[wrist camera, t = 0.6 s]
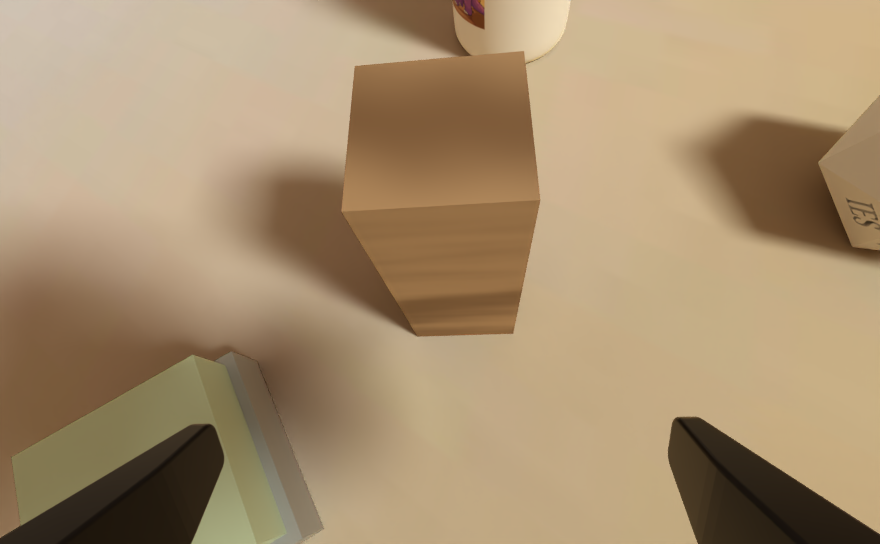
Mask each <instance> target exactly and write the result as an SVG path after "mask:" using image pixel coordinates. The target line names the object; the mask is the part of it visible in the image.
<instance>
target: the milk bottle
mask: <svg viewBox="0 0 880 544" xmlns="http://www.w3.org/2000/svg"><path fill="white" fill-rule="evenodd" d="M452 2H453V14H454V24H455V32H456V35H457V38H458V40H459V42H460V43H461V45H462V46H463V48H464V49H465V50H466V51H467V52H468V53H469V54H470V55H472V56H473V55H484V54H496V53H507V52H518V51H524V55H525V64H526V63H528V62H532V61H535V60H536V59H538V58H541V57H543V56H544V55H545V54H547V53H548V52H549V51H551V50H552V48H553V47H554V46H555V45H556V44H557V43H558V41H559V40H560V38H561V37H562V35H563V33H564V31H565V27H566V23H567V18H568V13H569V8H570V3H571V0H452Z"/></svg>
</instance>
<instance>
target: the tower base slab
mask: <svg viewBox="0 0 880 544" xmlns="http://www.w3.org/2000/svg"><path fill="white" fill-rule="evenodd" d="M214 362H217V363H220V364H223V365H225V366H226V369H227V371H228V374H229V377H230V380H231V382H232V385H233V388H234V390H235V393H236V396H237V399H238V401H239V404H240V407H241V409H242V412H243V415H244V418H245V420H246V423H247V426H248V428H249V431H250V434H251V437H252V439H253V442H254V445H255V447H256V450H257V453H258V456H259V458H260V461H261V464H262V467H263V469H264V472H265V475H266V477H267V480H268V483H269V486H270V488H271V491H272V494H273V496H274V499H275V502H276V505H277V507H278V510H279V513H280V515H281V518H282V521H283V524H284V526H285V529H286V532H287V533H286V534H285V535H283V536H281V537H280V538H278V539H277V540H275V541H274V542H272V543H270V544H301V543H302V542H304V541H305V540H307V539H308V538H310V537H312V536H313V535H315V534H316V533H318V532H319V531H321V530H323V529H324V528H323V525H322V523H321V520H320V518H319V515H318V513H317V510H316V508H315V505H314V503H313V500H312V498H311V495H310V493H309V490H308V488H307V485H306V483H305V480H304V478H303V475H302V473H301V470H300V468H299V465H298V463H297V460H296V458H295V455H294V453H293V450H292V448H291V445H290V443H289V440H288V438H287V435H286V433H285V430H284V428H283V425H282V423H281V421H280V418H279V416H278V413H277V411H276V408H275V406H274V403H273V401H272V398H271V396H270V393H269V391H268V388H267V386H266V383H265V381H264V378H263V376H262V373H261V371H260V368H259V366H258V363H257V361H255V360H253V359H250V358H248V357H245V356H243V355H240V354H238V353H235V352H232V351H231V352H229V353H227V354H225V355H224V356H222V357H220V358H218V359H217V360H215V361H214Z"/></svg>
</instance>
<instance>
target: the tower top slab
mask: <svg viewBox="0 0 880 544" xmlns="http://www.w3.org/2000/svg"><path fill="white" fill-rule="evenodd" d="M191 424H212V425H213V426H214V427H215V429H216V431H217V434H218V437H219V440H220V443H221V446H222V449H223V452H224V465H223V468H222V471H221V473H220V476H219V478H218V481H217V483H216V485H215V488H214V490H213V493H212V495H211V498H210V500H209V503H208V505H207V508H206V510H205V512H204V515H203V517H202V520H201V522H200V525H199V527H198V530H197V532H196V534H195V536H194V539H193V541H192V543H191V544H270V543H272V542H274V541H275V540H277V539H278V538H280V537H281V536H283V535H285V534H286V533H287V532H286V529H285V526H284V524H283V521H282V518H281V515H280V513H279V510H278V507H277V505H276V502H275V499H274V496H273V494H272V491H271V488H270V486H269V483H268V480H267V477H266V475H265V472H264V469H263V467H262V464H261V461H260V458H259V456H258V453H257V450H256V447H255V445H254V442H253V439H252V437H251V434H250V431H249V428H248V426H247V423H246V420H245V418H244V415H243V412H242V409H241V407H240V404H239V401H238V399H237V396H236V393H235V390H234V388H233V385H232V382H231V380H230V377H229V374H228V371H227V369H226V366H225V365H223V364H220V363H217V362H214V361H211V360H208V359H205V358H202V357H199V356H196V355H191V356H189V357H188V358H186V359H184V360H182V361H180V362H179V363H177V364H175V365H173V366H172V367H170V368H168V369H166V370H165V371H163V372H161V373H159V374H157V375H156V376H154V377H152V378H150V379H149V380H147V381H145V382H143V383H142V384H140V385H138V386H136V387H134V388H133V389H131V390H129V391H127V392H126V393H124V394H122V395H120V396H119V397H117V398H115V399H113V400H111V401H110V402H108V403H106V404H104V405H103V406H101V407H99V408H97V409H96V410H94V411H92V412H90V413H88V414H87V415H85V416H83V417H81V418H80V419H78V420H76V421H74V422H73V423H71V424H69V425H67V426H66V427H64V428H62V429H60V430H58V431H57V432H55V433H53V434H51V435H50V436H48V437H46V438H44V439H43V440H41V441H39V442H37V443H35V444H34V445H32V446H30V447H28V448H27V449H25V450H23V451H21V452H20V453H18V454H16V455H14V456H12V457H11V460H12V467H13V474H14V481H15V489H16V496H17V503H18V510H19V517H20V525H23V524H25V523H26V522H28V521H30V520H31V519H33V518H35V517H36V516H38V515H40V514H41V513H43V512H45V511H46V510H48V509H50V508H51V507H53V506H55V505H56V504H58V503H60V502H61V501H63V500H65V499H66V498H68V497H70V496H71V495H73V494H75V493H77V492H78V491H80V490H82V489H83V488H85V487H87V486H88V485H90V484H92V483H93V482H95V481H97V480H98V479H100V478H102V477H103V476H105V475H107V474H108V473H110V472H112V471H113V470H115V469H117V468H118V467H120V466H122V465H123V464H125V463H127V462H128V461H130V460H132V459H134V458H135V457H137V456H139V455H140V454H142V453H144V452H145V451H147V450H149V449H150V448H152V447H154V446H155V445H157V444H159V443H160V442H162V441H164V440H165V439H167V438H169V437H170V436H172V435H174V434H175V433H177V432H179V431H180V430H182V429H184V428H186V427H187V426H189V425H191Z"/></svg>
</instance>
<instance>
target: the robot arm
mask: <svg viewBox="0 0 880 544" xmlns="http://www.w3.org/2000/svg"><path fill="white" fill-rule="evenodd" d="M668 459H669V464H670V467H671V470H672V472H673V475H674V478H675V481H676V484H677V487H678V489H679V492H680V495H681V498H682V501H683V504H684V506H685V509H686V512H687V515H688V518H689V520H690V523H691V526H692V529H693V532H694V535H695V537H696V540H697V542H698V544H880V534H879V533H877V532H876V531H874V530H873V529H871V528H869V527H868V526H866V525H865V524H863V523H862V522H860V521H859V520H857V519H856V518H854V517H852V516H851V515H849V514H848V513H846V512H845V511H843V510H842V509H840V508H839V507H837V506H835V505H834V504H832V503H831V502H829V501H828V500H826V499H825V498H823V497H822V496H820V495H819V494H817V493H815V492H814V491H812V490H811V489H809V488H808V487H806V486H805V485H803V484H802V483H800V482H798V481H797V480H795V479H794V478H792V477H791V476H789V475H788V474H786V473H785V472H783V471H781V470H780V469H778V468H777V467H775V466H774V465H772V464H771V463H769V462H768V461H766V460H764V459H763V458H761V457H760V456H758V455H757V454H755V453H754V452H752V451H751V450H749V449H748V448H746V447H744V446H743V445H741V444H740V443H738V442H737V441H735V440H734V439H732V438H731V437H729V436H727V435H726V434H724V433H723V432H721V431H720V430H718V429H717V428H715V427H714V426H712V425H710V424H709V423H707V422H706V421H704V420H703V419H701V418H699V417H677V418H675V419H674V420H673V422H672V427H671V434H670V441H669V447H668ZM223 465H224V452H223V449H222V446H221V443H220V440H219V437H218V434H217V431H216V429H215V427H214V426H213V425H212V424H191V425H189V426H187V427H186V428H184V429H182V430H180V431H179V432H177V433H175V434H174V435H172V436H170V437H169V438H167V439H165V440H164V441H162V442H160V443H159V444H157V445H155V446H154V447H152V448H150V449H149V450H147V451H145V452H144V453H142V454H140V455H139V456H137V457H135V458H134V459H132V460H130V461H128V462H127V463H125V464H123V465H122V466H120V467H118V468H117V469H115V470H113V471H112V472H110V473H108V474H107V475H105V476H103V477H102V478H100V479H98V480H97V481H95V482H93V483H92V484H90V485H88V486H87V487H85V488H83V489H82V490H80V491H78V492H77V493H75V494H73V495H71V496H70V497H68V498H66V499H65V500H63V501H61V502H60V503H58V504H56V505H55V506H53V507H51V508H50V509H48V510H46V511H45V512H43V513H41V514H40V515H38V516H36V517H35V518H33V519H31V520H30V521H28V522H26V523H25V524H23V525H21V526H19V527H18V528H16V529H14V530H13V531H11V532H9V533H8V534H6V535H4V536H3V537H1V538H0V544H191V543H192V541H193V539H194V536H195V534H196V532H197V530H198V527H199V525H200V522H201V520H202V517H203V515H204V512H205V510H206V508H207V505H208V503H209V500H210V498H211V495H212V493H213V490H214V488H215V485H216V483H217V481H218V478H219V476H220V473H221V471H222V468H223Z"/></svg>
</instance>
